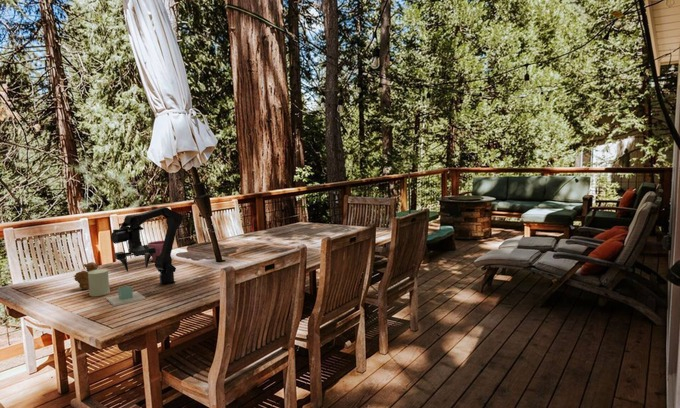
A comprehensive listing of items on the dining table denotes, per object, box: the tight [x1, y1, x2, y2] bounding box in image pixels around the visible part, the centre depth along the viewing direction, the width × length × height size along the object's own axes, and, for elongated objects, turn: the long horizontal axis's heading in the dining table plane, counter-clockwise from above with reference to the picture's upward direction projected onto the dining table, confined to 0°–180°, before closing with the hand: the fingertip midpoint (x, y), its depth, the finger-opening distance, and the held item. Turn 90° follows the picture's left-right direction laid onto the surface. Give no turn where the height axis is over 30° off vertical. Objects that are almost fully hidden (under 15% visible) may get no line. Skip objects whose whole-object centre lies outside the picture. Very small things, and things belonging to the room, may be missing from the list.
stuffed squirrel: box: [73, 261, 101, 290], centre depth 226 cm, size 10×14×13 cm
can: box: [88, 268, 111, 297], centre depth 215 cm, size 9×9×12 cm
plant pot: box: [147, 240, 164, 263], centre depth 285 cm, size 14×14×13 cm
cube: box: [117, 285, 133, 300], centre depth 205 cm, size 5×5×5 cm
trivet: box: [105, 290, 146, 307], centre depth 205 cm, size 14×14×1 cm
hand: (137, 269), depth 216 cm, fingers open, 9 cm apart
